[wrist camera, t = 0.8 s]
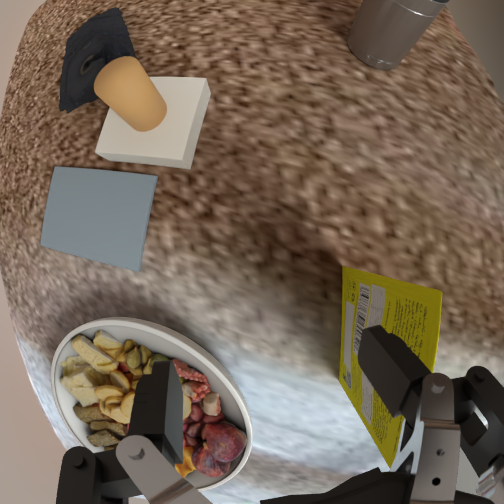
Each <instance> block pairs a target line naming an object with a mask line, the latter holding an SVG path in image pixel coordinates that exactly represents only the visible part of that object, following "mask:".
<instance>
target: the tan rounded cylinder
mask: <svg viewBox="0 0 504 504" xmlns="http://www.w3.org/2000/svg"><path fill="white" fill-rule="evenodd" d="M94 91H95V93H96V95H97V96H98V97H99V98H101V99H102V100H103V101H104V102H105V103H106V104H107V105H108V106H109V107H110V108H111V109H113V110H114V111H115V112H116V113H117V114H118V115H119V116H120V117H121V118H122V119H123V120H124V121H126V122H127V123H128V124H129V125H130V126H131V127H132V128H133V129H135V130H136V131H140V132H145V131H149V130H152V129H154V128H156V127H157V126H158V125H159V124H160V123H161V122H162V121H163V120H164V118H165V116H166V113H167V105H166V102H165V101H164V99H163V98H162V96H161V95H160V93H159V92H158V90H157V89H156V87H155V85H154V84H153V82H152V81H151V79H150V78H149V76H148V75H147V73H146V72H145V70H144V69H143V67H142V66H141V64H140V63H139V61H138V60H137V59H136V58H134V57H131V56H124V57H120V58H117V59H115V60H113V61H111V62H110V63H108V64H107V65H106V66H105V67H104V68H103V69H102V70H101V71H100V72H99V74H98V75H97V77H96V79H95V82H94Z"/></svg>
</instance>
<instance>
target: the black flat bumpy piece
mask: <svg viewBox="0 0 504 504" xmlns="http://www.w3.org/2000/svg"><path fill="white" fill-rule="evenodd" d="M65 51H66V54H65V56H64V63H63V67H62V74H61V82H60V86H61V87H60V100H59V102H60V104H59V108H60V111H63V110H64V109H65V110H67V114H68V113H70V112H71V111H72V110H74V109H76V108H77V107H79V106H80V105H82V104H84V103H88V102H92V101H94V100H96V99H98V98H99V97H98V96H97V95H96V93H95V91H94V82H95V79H96V77H97V75H98V74H99V72H100V71H101V70H102V69H103V68H104V67H105V66H106V65H107V64H108V63H110V62H111V61H113V60H115V59H117V58H120V57H123V56H131V57H134V58H136V56H135V53H134V49H133V45H132V43H131V40H130V37H129V33H128V31H127V27H126V25H125V23H124V21H123V18H122V16H121V11H120V10H119V8H112V9H110V10H108V11H105V12H103V13H102V14H98V15H96V16H94V17H92V18H90V19H89V20H88V21H87V22H85V23H84V24H83V25H82V26H81V27H80V28H79V29H78V30H77V31H76V32H74V33H73V34H72V35H71V36H70V37H69V38H68V40H67V44H66V49H65ZM136 59H137V58H136Z"/></svg>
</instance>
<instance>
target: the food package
mask: <svg viewBox="0 0 504 504" xmlns="http://www.w3.org/2000/svg"><path fill="white" fill-rule="evenodd" d="M342 275H343V276H342V279H343V288H342V328H341V351H340V370H339V382H340V384H341V385H342V387H343V389H344V391H345V392H346V394H347V396H348V398H349V399H350V401H351V403H352V404H353V406H354V408H355V409H356V411H357V413H358V414H359V416H360V418H361V420H362V421H363V423H364V425H365V426H366V428H367V430H368V432H369V433H370V435H371V437H372V438H373V440H374V442H375V444H376V445H377V447H378V449H379V450H380V452H381V454H382V456H383V457H384V459H385V461H386V463H387V464H388V466H389V468H391V466H392V464H393V462H394V459H395V457H396V453H397V449H398V444H399V439H400V434H401V429H402V423H403V420H404V416H403V415H400V416H398V417H395V418H393V417H392V416H391V414H390V412H389V411H388V409H387V408H386V406H385V405H384V403H383V402H382V400H381V398H380V397H379V395H378V394H377V392H376V391H375V389H374V388H373V386H372V385H371V383H370V381H369V380H368V378H367V377H366V375H365V374H364V372H363V371H362V369H361V368H360V366H359V363H358V350H359V345H360V340H361V335H362V331H363V329H365V328H368V327H372V326H375V325H381V326H382V327H383V328H384V329H385V330H386V331H387V332H388V333H393V334H395V335H396V336H398V337H400V338H401V339H402V340H403V341H404V342H405V343H406V344H407V346H408V347H410V349H411V350H412V352H414V353H415V354H416V355H417V356H418V358H419V359H420V360H421V361H422V362H423V363H424V364H425V365H426V367H427V368H428V369H429V370H430V371H431V372H432V373H433V370H434V365H435V359H436V352H437V346H438V338H439V329H440V314H441V304H442V291H439V290H436V289H432V288H428V287H424V286H420V285H416V284H412V283H408V282H404V281H400V280H396V279H392V278H388V277H385V276H381V275H377V274H373V273H369V272H365V271H361V270H357V269H353V268H349V267H345V266H342Z"/></svg>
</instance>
